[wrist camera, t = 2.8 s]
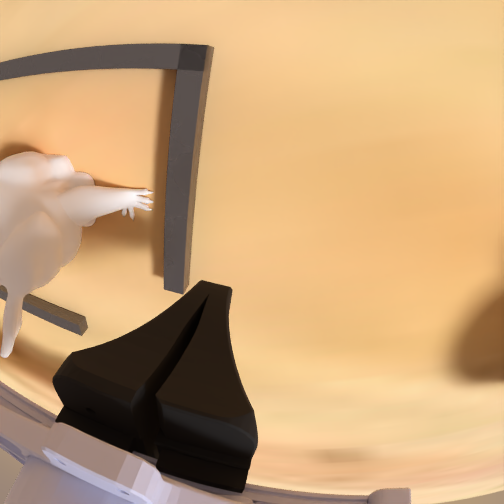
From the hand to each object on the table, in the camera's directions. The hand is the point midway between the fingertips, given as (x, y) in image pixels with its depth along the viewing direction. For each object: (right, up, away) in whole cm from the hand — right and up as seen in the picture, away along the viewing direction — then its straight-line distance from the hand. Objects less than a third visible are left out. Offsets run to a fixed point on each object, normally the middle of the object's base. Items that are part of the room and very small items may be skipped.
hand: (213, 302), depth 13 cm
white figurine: (-10, +5, +5) cm, 12 cm away
